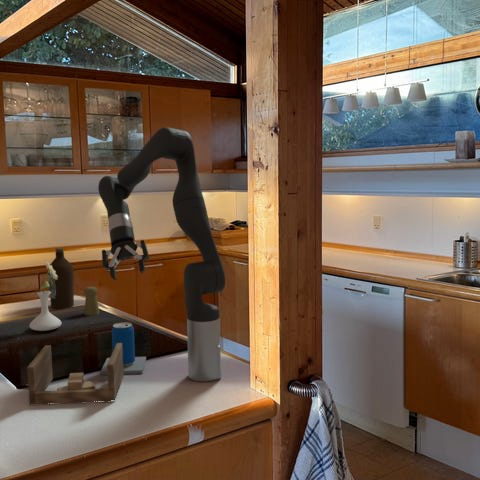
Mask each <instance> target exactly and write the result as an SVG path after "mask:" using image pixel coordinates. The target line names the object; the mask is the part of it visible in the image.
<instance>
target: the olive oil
mask: <svg viewBox="0 0 480 480" xmlns="http://www.w3.org/2000/svg"><path fill="white" fill-rule="evenodd" d="M49 265H52V268H53V270H55V271H56V273H55V274H56V275H57V276H58V277H57V280H56V279H54V278H53V277H52V276H51V274H50V273H48V272H47V273H48V275H47V282H48V283H49V285H50V286H49V287H48V288H49V289H48V291H50V292H51V293H50V295H49V298H50V300H49V301H50V308H52V309H57V310H63V309H68V308H72V307H74V305H75V303H74V298H75V297H74V296H75V295H74V286H75V285H74V283H75V282H74V276H75V273H74V271H75V270H74V266H73V264H72V263H71V262H70V261H68V259H66V257H65V251H64V248H63V247H59V248H57V247H56V248H55V257H54V259H53V260H52V262H51V263H49Z"/></svg>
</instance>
